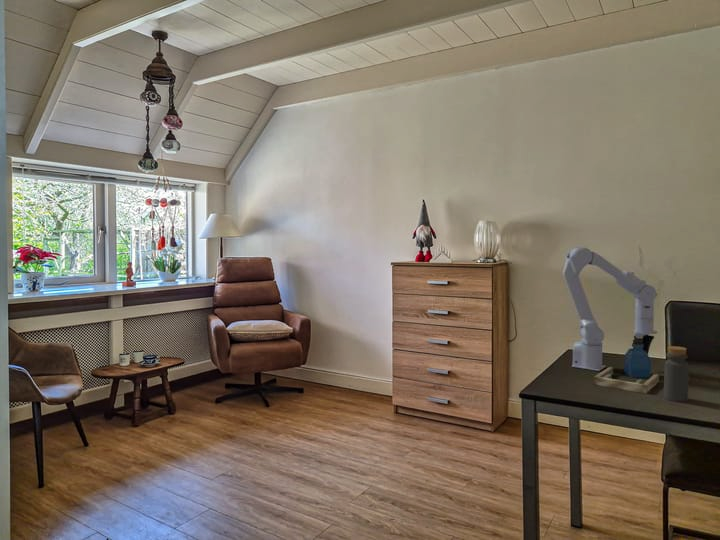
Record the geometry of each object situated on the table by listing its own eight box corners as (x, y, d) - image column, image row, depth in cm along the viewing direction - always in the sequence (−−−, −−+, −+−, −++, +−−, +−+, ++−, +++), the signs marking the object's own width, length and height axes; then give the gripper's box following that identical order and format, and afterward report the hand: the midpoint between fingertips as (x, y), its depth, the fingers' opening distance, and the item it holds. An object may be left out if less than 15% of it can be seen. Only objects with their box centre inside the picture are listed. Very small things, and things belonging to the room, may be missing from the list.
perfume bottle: (650, 377, 166) (651, 342, 166) (630, 376, 168) (631, 341, 167) (643, 373, 172) (644, 339, 172) (624, 372, 174) (625, 338, 173)
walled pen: (593, 384, 159) (593, 376, 159) (609, 373, 171) (609, 367, 171) (646, 393, 149) (646, 385, 148) (658, 381, 161) (658, 374, 161)
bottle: (659, 396, 146) (660, 345, 146) (677, 395, 147) (679, 345, 146) (673, 402, 140) (674, 350, 140) (692, 401, 141) (694, 349, 140)
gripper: (652, 321, 167) (651, 361, 168) (661, 316, 178) (660, 354, 179) (629, 319, 172) (628, 358, 173) (639, 315, 183) (639, 351, 183)
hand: (643, 355), depth 176 cm, fingers closed
